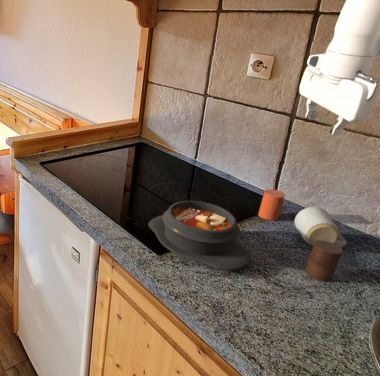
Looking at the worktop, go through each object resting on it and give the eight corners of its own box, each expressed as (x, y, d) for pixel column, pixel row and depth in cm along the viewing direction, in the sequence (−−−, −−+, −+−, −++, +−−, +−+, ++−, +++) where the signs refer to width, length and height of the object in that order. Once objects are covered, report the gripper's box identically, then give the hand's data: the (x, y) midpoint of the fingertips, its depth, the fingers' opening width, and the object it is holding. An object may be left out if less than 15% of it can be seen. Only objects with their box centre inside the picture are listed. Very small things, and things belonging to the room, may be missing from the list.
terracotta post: (273, 212, 113) (280, 189, 110) (281, 221, 108) (288, 197, 105) (255, 211, 113) (261, 188, 110) (262, 220, 108) (269, 196, 106)
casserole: (130, 232, 101) (134, 202, 98) (181, 214, 110) (186, 186, 107) (214, 287, 82) (222, 253, 79) (267, 260, 91) (277, 228, 88)
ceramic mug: (301, 248, 96) (312, 220, 93) (290, 230, 103) (299, 204, 100) (350, 254, 94) (363, 226, 91) (335, 236, 102) (346, 209, 98)
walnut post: (324, 268, 89) (334, 241, 86) (337, 282, 85) (348, 254, 82) (300, 266, 89) (310, 239, 87) (312, 280, 85) (322, 252, 82)
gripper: (396, 79, 78) (366, 145, 85) (330, 55, 95) (309, 111, 103) (364, 79, 78) (336, 144, 85) (304, 54, 95) (285, 111, 102)
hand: (321, 126), depth 94 cm, fingers open, 8 cm apart
